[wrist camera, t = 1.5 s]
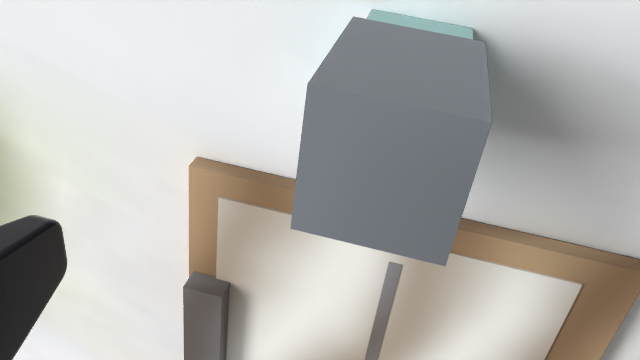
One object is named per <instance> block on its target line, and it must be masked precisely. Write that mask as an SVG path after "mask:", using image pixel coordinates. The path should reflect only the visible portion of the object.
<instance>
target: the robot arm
mask: <svg viewBox="0 0 640 360" xmlns="http://www.w3.org/2000/svg"><path fill="white" fill-rule="evenodd" d="M66 268H67V257H66V250H65V244H64V238H63V232H62V227H61V225H60V224H59V222H57V221H56V220H52V219H49V218H45V217H41V216H37V215H30V216H27V217H24V218H21V219H18V220H15V221H13V222H10V223H7V224H4V225H1V226H0V360H12V359H13V358H14V356H15V355H16V353H17V352H18V350H19V349H20V347H21V345H22V344H23V342H24V340H25V339H26V337H27V336H28V334H29V332H30V331H31V329H32V327H33V326H34V324H35V323H36V321H37V319H38V318H39V316H40V314H41V313H42V311H43V310H44V308H45V306H46V305H47V303H48V301H49V300H50V298H51V297H52V295H53V293H54V292H55V290H56V288H57V287H58V285H59V284H60V282H61V280H62V279H63V277H64V274H65V272H66Z"/></svg>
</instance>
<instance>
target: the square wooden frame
mask: <svg viewBox="0 0 640 360" xmlns="http://www.w3.org/2000/svg"><path fill="white" fill-rule="evenodd" d="M295 185H296V180H294V179H290V178H285V177H281V176H277V175H273V174H268V173H264V172H260V171H255V170H251V169H247V168H242V167H238V166H234V165H229V164H225V163H221V162H216V161H212V160H208V159H203V158H199V157H196V158H195V160H194V161H193V162H192V163H191V164H190V165H189V279H188V281H187V282H186V284H185V285H184V287H183V304H184V360H600V358H601V357H602V355H603V353H604V352H605V350H606V348H607V347H608V345H609V343H610V341H611V340H612V338H613V336H614V335H615V333H616V331H617V330H618V328H619V326H620V324H621V323H622V321H623V319H624V318H625V316H626V314H627V313H628V311H629V309H630V307H631V306H632V304H633V302H634V301H635V299H636V297H637V296H638V294H639V292H640V259H635V258H631V257H627V256H622V255H618V254H614V253H609V252H605V251H601V250H597V249H592V248H588V247H584V246H579V245H575V244H571V243H566V242H562V241H558V240H553V239H549V238H545V237H540V236H536V235H532V234H527V233H523V232H519V231H514V230H510V229H506V228H501V227H497V226H493V225H489V224H484V223H480V222H476V221H471V220H467V219H463V218H461V220H460V223H459V226H458V229H457V232H456V236H455V239H454V242H453V245H452V248H451V251H450V254H449V257H448V260H447V263H446V267H445V266H441V265H437V264H433V263H429V262H425V261H421V260H417V259H413V258H408V257H404V256H400V255H396V254H392V253H388V252H384V251H380V250H376V249H371V248H367V247H363V246H359V245H355V244H351V243H347V242H343V241H339V240H334V239H330V238H326V237H322V236H318V235H314V234H310V233H306V232H302V231H298V230H293V229H290V227H291V218H292V210H293V202H294V193H295Z"/></svg>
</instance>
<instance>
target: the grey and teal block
mask: <svg viewBox="0 0 640 360" xmlns="http://www.w3.org/2000/svg"><path fill="white" fill-rule="evenodd" d="M491 124H492V116H491V103H490V91H489V78H488V65H487V53H486V42H484V41H479V40H474V39H473V28H469V27H464V26H459V25H454V24H448V23H443V22H438V21H432V20H427V19H422V18H416V17H411V16H406V15H400V14H395V13H390V12H384V11H379V10H374V9H372V10H371V12H370V13H369V15H368V17H367V18H366V19H364V18H358V17H353V18H352V19H351V21H350V22H349V24H348V25H347V27H346V28H345V30H344V31H343V33H342V34H341V35H340V37H339V38H338V40H337V41H336V43H335V44H334V46H333V47H332V49H331V50H330V52H329V53H328V55H327V56H326V58H325V59H324V61H323V62H322V63H321V65H320V66H319V68H318V69H317V71H316V72H315V74H314V75H313V77H312V78H311V80H310V81H309V83H308V85H307V93H306V101H305V110H304V118H303V127H302V135H301V143H300V152H299V160H298V168H297V177H296V185H295V193H294V202H293V210H292V218H291V227H290V229H293V230H298V231H302V232H306V233H310V234H314V235H318V236H322V237H326V238H330V239H334V240H339V241H343V242H347V243H351V244H355V245H359V246H363V247H367V248H371V249H376V250H380V251H384V252H388V253H392V254H396V255H400V256H404V257H408V258H413V259H417V260H421V261H425V262H429V263H433V264H437V265H441V266H445V267H446V263H447V260H448V257H449V254H450V251H451V248H452V245H453V242H454V239H455V236H456V232H457V229H458V226H459V223H460V220H461V217H462V214H463V211H464V208H465V205H466V202H467V198H468V195H469V192H470V189H471V186H472V183H473V180H474V177H475V174H476V171H477V167H478V164H479V161H480V158H481V155H482V152H483V149H484V146H485V143H486V140H487V136H488V133H489V130H490V127H491Z"/></svg>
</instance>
